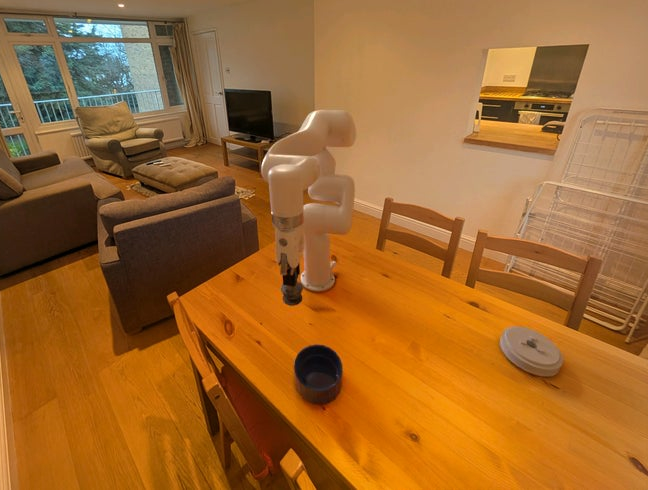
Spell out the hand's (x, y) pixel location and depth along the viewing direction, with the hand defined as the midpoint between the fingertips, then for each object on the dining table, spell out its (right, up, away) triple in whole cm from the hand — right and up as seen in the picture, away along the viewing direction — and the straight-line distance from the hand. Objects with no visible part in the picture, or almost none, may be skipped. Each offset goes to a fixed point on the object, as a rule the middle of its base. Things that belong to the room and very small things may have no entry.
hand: (291, 278), depth 76 cm
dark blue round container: (+7, -26, 0) cm, 27 cm away
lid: (+63, -22, +3) cm, 67 cm away
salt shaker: (0, -6, +3) cm, 7 cm away
